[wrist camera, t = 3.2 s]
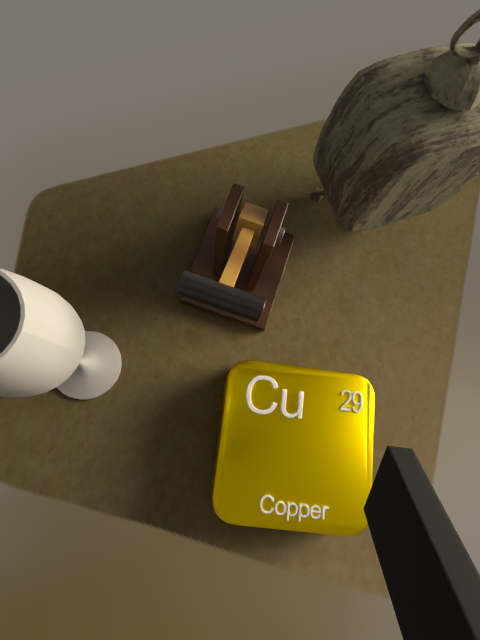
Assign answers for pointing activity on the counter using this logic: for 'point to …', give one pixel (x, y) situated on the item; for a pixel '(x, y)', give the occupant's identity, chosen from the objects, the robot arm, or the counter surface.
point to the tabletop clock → (403, 135)
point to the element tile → (294, 449)
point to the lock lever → (230, 272)
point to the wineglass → (49, 345)
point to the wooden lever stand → (259, 264)
